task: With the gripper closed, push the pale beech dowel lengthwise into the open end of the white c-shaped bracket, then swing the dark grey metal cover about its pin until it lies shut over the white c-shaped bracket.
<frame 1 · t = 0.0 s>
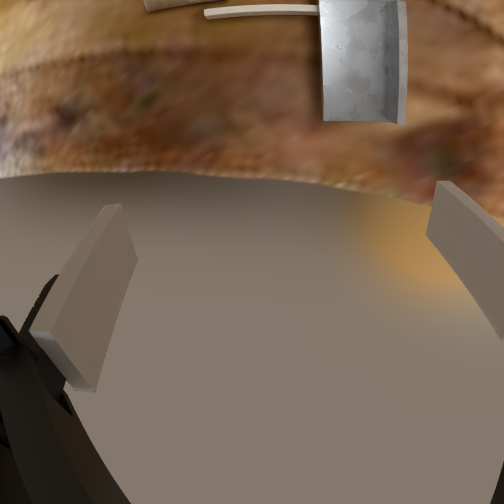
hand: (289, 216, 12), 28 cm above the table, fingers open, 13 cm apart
cover: (363, 44, 26), point 6 cm above the table, hinge at 90.0°
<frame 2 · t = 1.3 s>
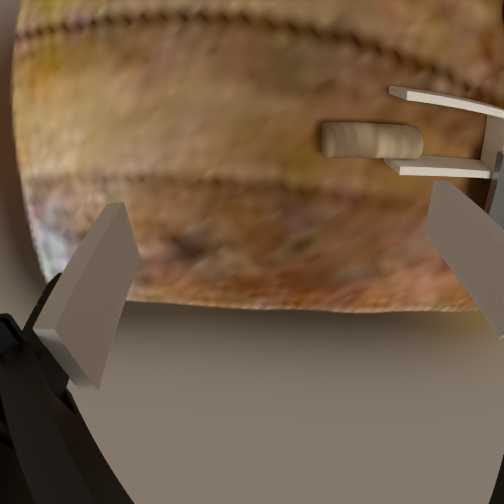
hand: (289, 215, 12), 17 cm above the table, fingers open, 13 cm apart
dowel: (369, 124, 26), on the table, tilted 51°
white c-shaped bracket: (444, 129, 26), on the table
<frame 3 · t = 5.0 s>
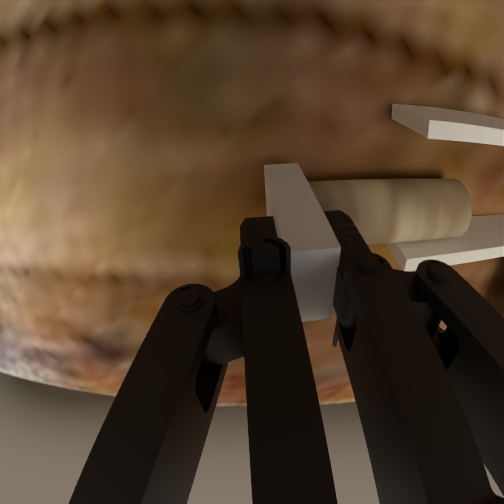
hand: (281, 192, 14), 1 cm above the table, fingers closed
dowel: (380, 180, 15), point 1 cm above the table, tilted 49°, touching gripper
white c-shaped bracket: (481, 174, 15), on the table
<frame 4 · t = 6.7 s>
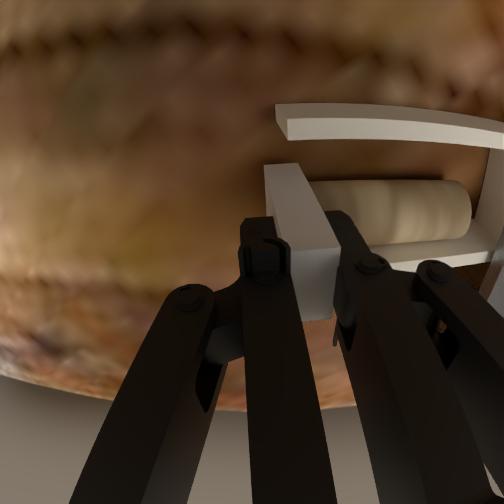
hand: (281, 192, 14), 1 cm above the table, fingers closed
dowel: (381, 181, 15), point 1 cm above the table, tilted 49°, touching gripper
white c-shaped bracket: (406, 175, 15), on the table
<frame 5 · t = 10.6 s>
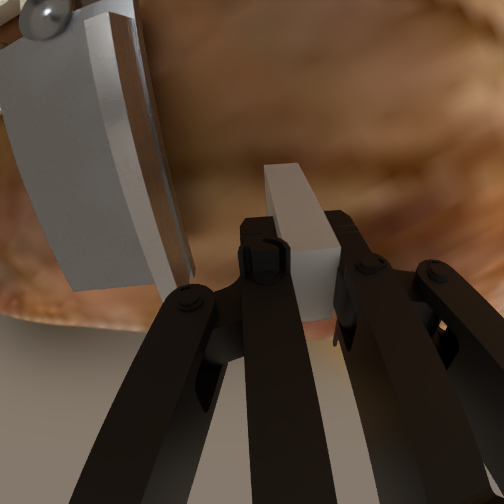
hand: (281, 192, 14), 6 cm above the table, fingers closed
cover: (68, 155, 13), point 6 cm above the table, hinge at 90.0°
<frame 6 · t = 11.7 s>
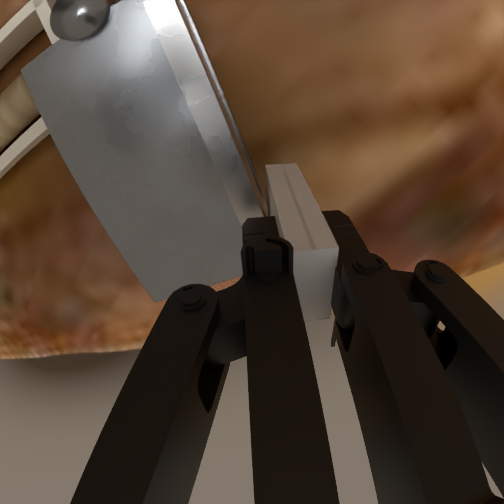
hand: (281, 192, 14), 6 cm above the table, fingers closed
dowel: (0, 114, 15), resting in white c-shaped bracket, tilted 36°
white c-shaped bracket: (16, 100, 15), on the table
cover: (138, 151, 13), point 6 cm above the table, hinge at 86.4°, touching gripper
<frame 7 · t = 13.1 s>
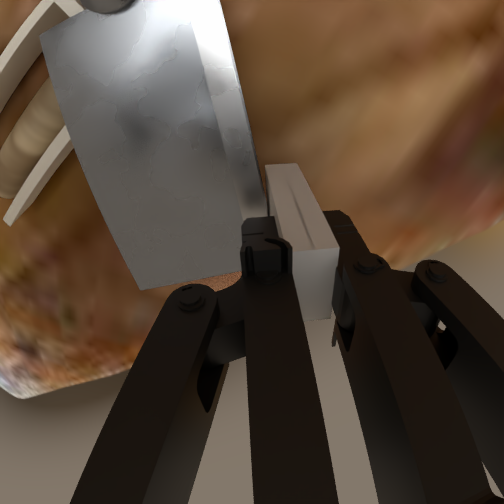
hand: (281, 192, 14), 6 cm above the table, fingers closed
dowel: (29, 122, 16), resting in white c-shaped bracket, tilted 49°
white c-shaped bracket: (46, 103, 16), on the table
cover: (148, 134, 13), point 6 cm above the table, hinge at 64.9°, touching gripper
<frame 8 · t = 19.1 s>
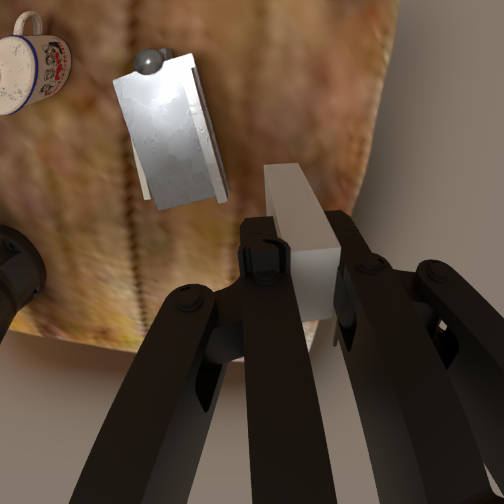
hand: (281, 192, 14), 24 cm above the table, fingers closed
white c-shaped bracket: (170, 132, 35), on the table
teacup with lid: (46, 56, 27), on the table
cover: (167, 130, 29), point 6 cm above the table, hinge at 8.3°
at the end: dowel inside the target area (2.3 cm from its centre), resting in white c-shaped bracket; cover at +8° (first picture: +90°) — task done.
